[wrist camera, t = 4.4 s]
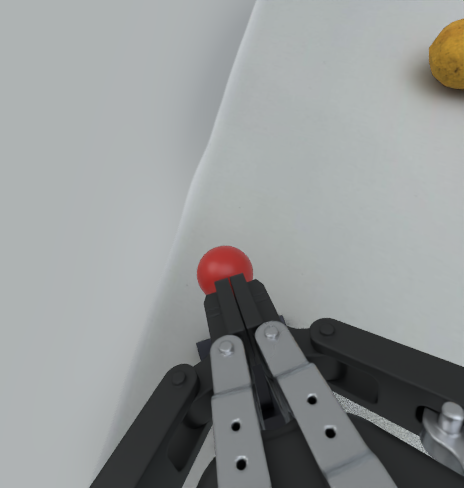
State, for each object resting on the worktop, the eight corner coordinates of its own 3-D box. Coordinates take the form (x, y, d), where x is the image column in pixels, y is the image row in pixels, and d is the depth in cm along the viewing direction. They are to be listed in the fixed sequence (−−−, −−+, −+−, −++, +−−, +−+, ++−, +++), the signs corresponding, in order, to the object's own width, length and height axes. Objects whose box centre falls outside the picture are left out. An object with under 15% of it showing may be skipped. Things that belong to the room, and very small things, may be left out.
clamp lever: (189, 248, 19) (190, 265, 16) (239, 233, 19) (250, 247, 16) (247, 424, 23) (257, 465, 20) (288, 410, 23) (304, 448, 20)
